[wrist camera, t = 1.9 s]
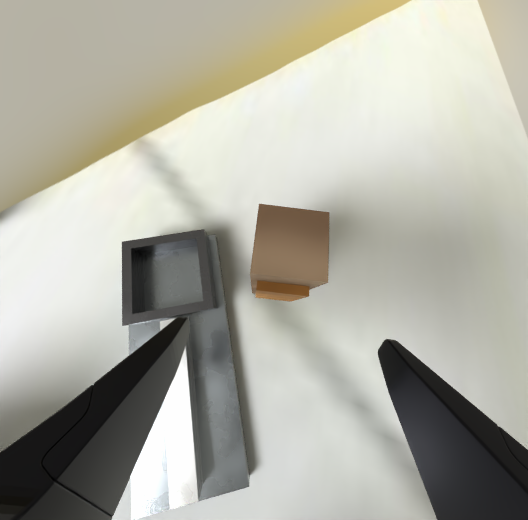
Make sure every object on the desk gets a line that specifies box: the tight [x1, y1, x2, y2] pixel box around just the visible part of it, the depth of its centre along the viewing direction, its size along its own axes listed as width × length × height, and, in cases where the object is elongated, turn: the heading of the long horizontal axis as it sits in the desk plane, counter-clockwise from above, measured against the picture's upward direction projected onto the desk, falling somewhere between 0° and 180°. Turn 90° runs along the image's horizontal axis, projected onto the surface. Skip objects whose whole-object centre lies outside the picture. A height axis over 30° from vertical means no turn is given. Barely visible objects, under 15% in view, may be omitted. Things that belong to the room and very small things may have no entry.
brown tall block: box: [250, 204, 329, 301], centre depth 15 cm, size 5×4×11 cm
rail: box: [122, 229, 250, 520], centre depth 17 cm, size 22×9×3 cm, turn 11°
